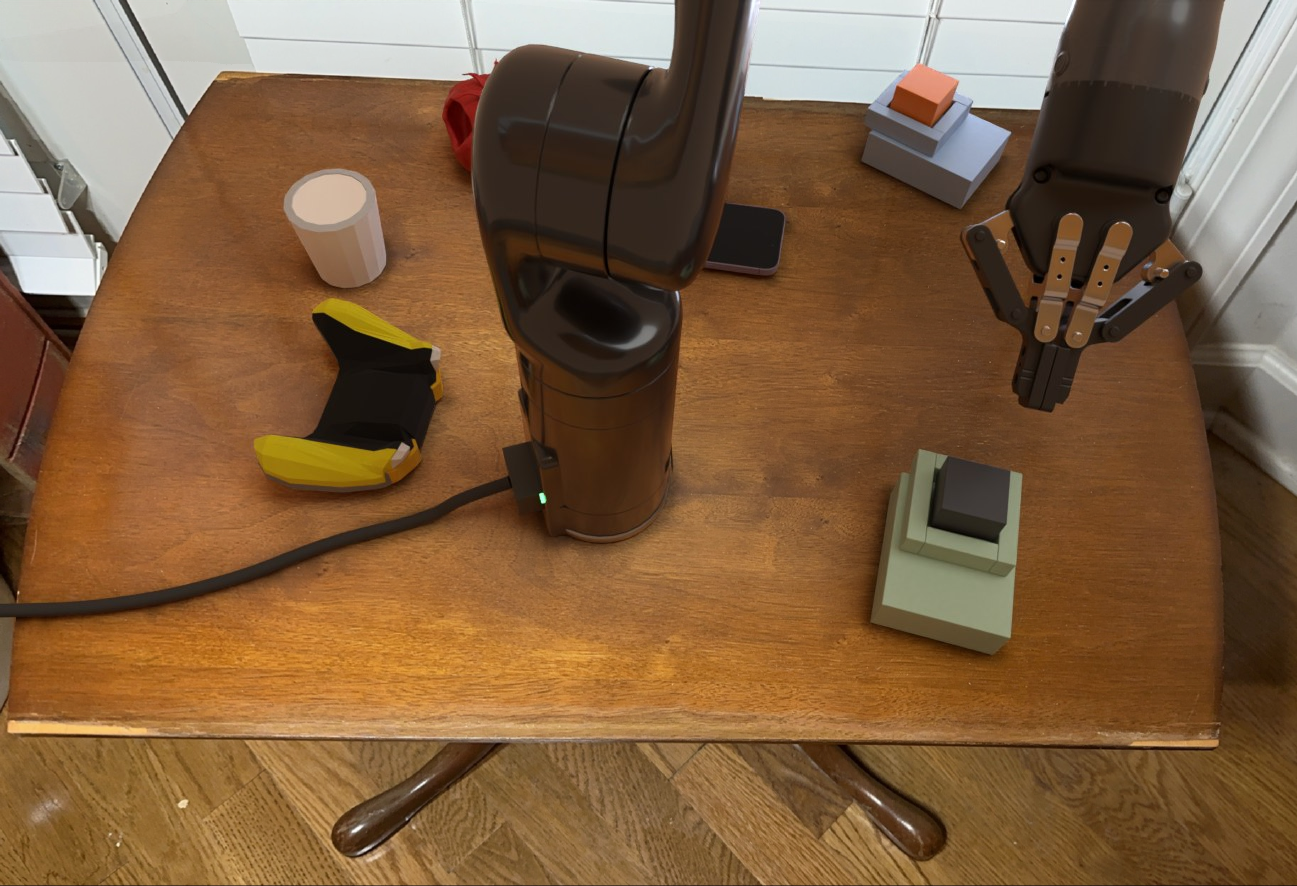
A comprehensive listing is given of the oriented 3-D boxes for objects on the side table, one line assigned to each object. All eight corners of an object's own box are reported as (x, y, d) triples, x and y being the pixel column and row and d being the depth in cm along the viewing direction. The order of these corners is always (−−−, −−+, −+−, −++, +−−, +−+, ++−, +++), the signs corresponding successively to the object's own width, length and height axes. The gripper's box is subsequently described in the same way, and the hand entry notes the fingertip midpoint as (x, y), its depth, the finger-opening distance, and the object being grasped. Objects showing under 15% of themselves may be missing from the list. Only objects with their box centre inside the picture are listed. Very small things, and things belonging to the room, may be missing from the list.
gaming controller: (265, 500, 64) (404, 521, 63) (236, 459, 59) (387, 482, 58) (336, 333, 72) (461, 350, 71) (316, 285, 67) (450, 303, 66)
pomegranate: (492, 107, 86) (479, 15, 78) (582, 144, 84) (578, 54, 76) (428, 169, 81) (407, 78, 74) (521, 210, 79) (510, 121, 71)
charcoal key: (992, 542, 58) (1007, 524, 56) (929, 526, 59) (941, 508, 57) (997, 489, 60) (1011, 470, 58) (936, 474, 61) (948, 455, 59)
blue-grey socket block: (999, 160, 84) (1019, 115, 80) (960, 209, 81) (979, 165, 76) (893, 111, 87) (907, 65, 83) (851, 157, 84) (864, 111, 80)
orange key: (950, 105, 81) (959, 80, 79) (929, 129, 79) (938, 104, 77) (910, 87, 82) (918, 62, 80) (888, 110, 80) (896, 85, 78)
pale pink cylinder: (386, 224, 78) (367, 159, 72) (401, 283, 74) (382, 220, 68) (304, 242, 76) (277, 177, 71) (315, 302, 73) (288, 239, 67)
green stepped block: (992, 655, 59) (1021, 627, 55) (869, 622, 60) (889, 593, 56) (1004, 510, 65) (1031, 475, 61) (891, 483, 66) (910, 446, 61)
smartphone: (615, 187, 80) (787, 209, 78) (615, 197, 81) (785, 219, 79) (597, 247, 76) (777, 272, 74) (598, 257, 77) (776, 281, 75)
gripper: (1217, 121, 51) (1127, 418, 55) (980, 83, 53) (908, 377, 57) (1291, 101, 44) (1181, 444, 48) (1013, 57, 45) (928, 396, 49)
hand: (1033, 407), depth 52 cm, fingers closed
